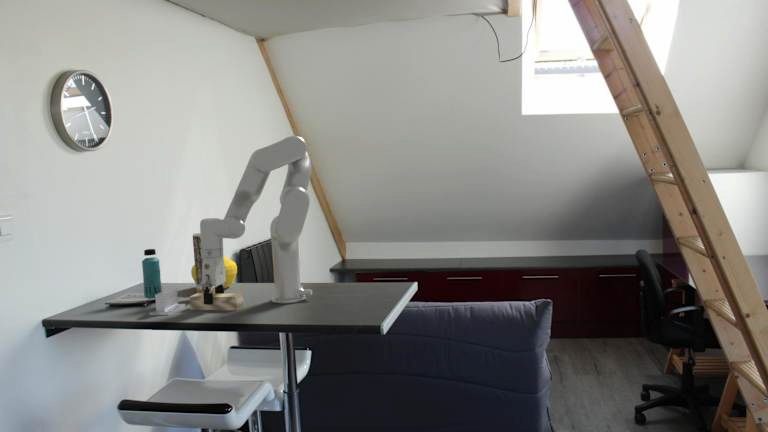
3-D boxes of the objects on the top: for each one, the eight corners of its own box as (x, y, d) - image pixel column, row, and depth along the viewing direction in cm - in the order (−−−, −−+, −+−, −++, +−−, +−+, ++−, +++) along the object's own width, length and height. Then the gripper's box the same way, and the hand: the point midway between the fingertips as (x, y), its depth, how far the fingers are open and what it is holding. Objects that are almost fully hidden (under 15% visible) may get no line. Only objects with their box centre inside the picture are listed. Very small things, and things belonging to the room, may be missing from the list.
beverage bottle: (143, 303, 221) (139, 251, 220) (145, 299, 228) (141, 248, 226) (161, 301, 223) (157, 249, 221) (163, 298, 229) (159, 247, 228)
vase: (182, 292, 239) (179, 245, 238) (212, 282, 256) (209, 239, 254) (219, 294, 232) (215, 246, 230) (247, 284, 249) (244, 239, 247)
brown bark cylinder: (210, 300, 222) (205, 234, 220) (194, 300, 223) (189, 235, 221) (218, 296, 228) (214, 232, 226) (202, 296, 230) (198, 232, 228)
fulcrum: (184, 306, 213) (183, 287, 213) (168, 315, 201) (167, 295, 201) (166, 306, 214) (165, 287, 214) (149, 315, 202) (148, 295, 202)
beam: (243, 307, 209) (242, 293, 209) (237, 311, 204) (236, 297, 204) (197, 306, 213) (196, 293, 213) (190, 310, 208) (189, 296, 208)
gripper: (212, 257, 198) (214, 307, 199) (231, 249, 215) (233, 295, 216) (191, 257, 199) (193, 306, 200) (212, 249, 216) (214, 295, 217)
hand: (214, 301), depth 208 cm, fingers open, 9 cm apart
